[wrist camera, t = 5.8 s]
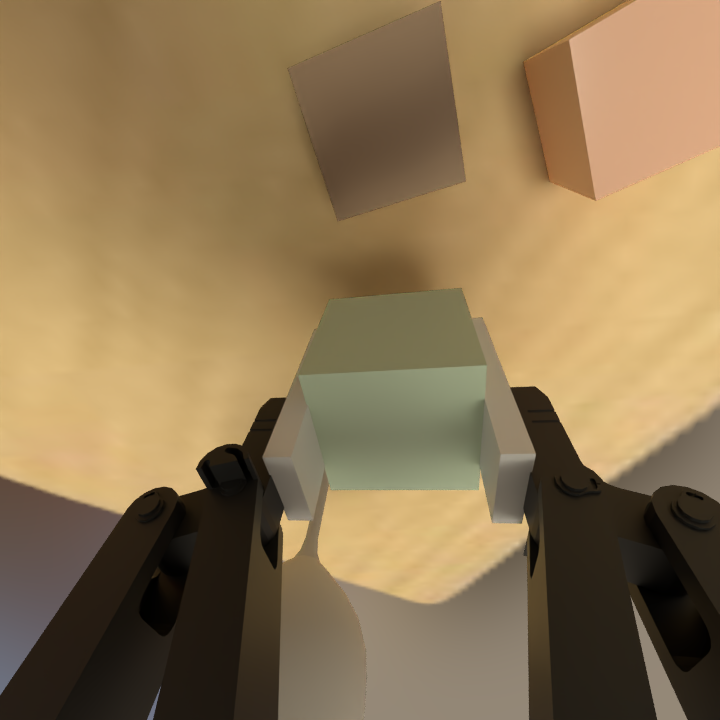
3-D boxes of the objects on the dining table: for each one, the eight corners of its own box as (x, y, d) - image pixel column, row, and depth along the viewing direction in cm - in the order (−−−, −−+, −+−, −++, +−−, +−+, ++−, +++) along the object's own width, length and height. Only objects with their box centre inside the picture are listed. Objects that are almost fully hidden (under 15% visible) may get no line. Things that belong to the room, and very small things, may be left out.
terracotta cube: (522, 62, 15) (569, 39, 11) (662, -21, 13) (780, -85, 9) (549, 181, 17) (595, 200, 13) (671, 123, 16) (768, 125, 11)
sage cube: (329, 299, 14) (297, 375, 10) (461, 287, 13) (487, 365, 9) (349, 398, 17) (330, 489, 13) (459, 393, 16) (478, 490, 12)
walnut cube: (317, 82, 16) (287, 67, 12) (429, 35, 15) (440, 0, 11) (352, 199, 18) (337, 221, 14) (450, 166, 17) (465, 180, 13)
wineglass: (376, 400, 26) (322, 997, 8) (385, 471, 30) (361, 968, 12) (275, 403, 27) (37, 934, 9) (297, 471, 31) (160, 927, 13)
